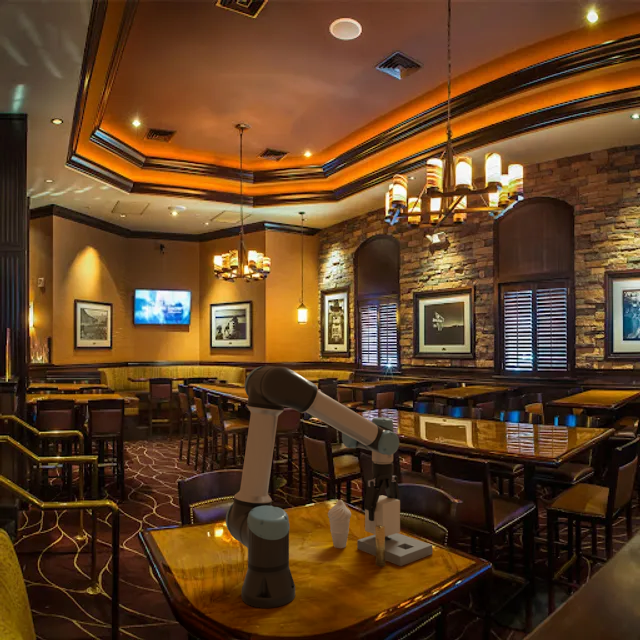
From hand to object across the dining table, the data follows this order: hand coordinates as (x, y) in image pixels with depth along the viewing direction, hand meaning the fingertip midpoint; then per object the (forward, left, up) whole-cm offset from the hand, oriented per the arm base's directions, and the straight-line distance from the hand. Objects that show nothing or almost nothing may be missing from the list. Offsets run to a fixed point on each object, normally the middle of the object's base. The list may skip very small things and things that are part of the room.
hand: (382, 527), depth 188 cm
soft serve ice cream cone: (-11, +11, -7) cm, 17 cm away
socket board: (0, -5, -7) cm, 9 cm away
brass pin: (-12, -10, -7) cm, 17 cm away
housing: (0, 0, -1) cm, 1 cm away
